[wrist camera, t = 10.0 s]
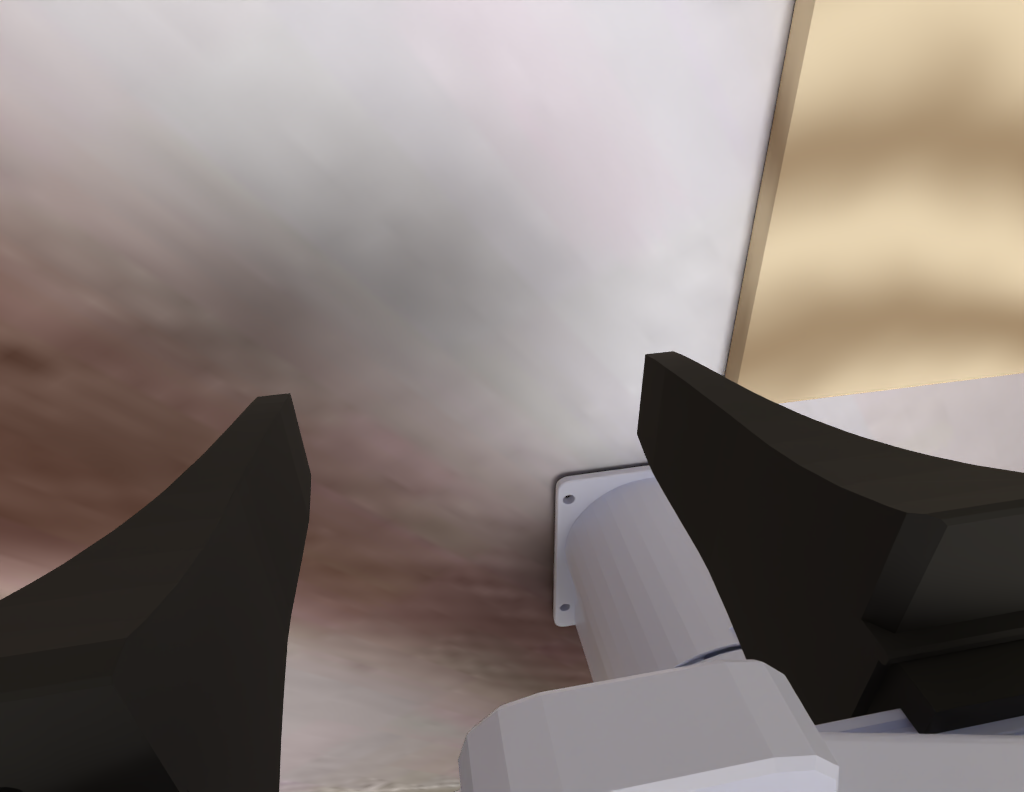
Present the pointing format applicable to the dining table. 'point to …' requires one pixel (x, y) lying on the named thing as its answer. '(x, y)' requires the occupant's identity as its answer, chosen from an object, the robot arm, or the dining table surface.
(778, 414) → the robot arm
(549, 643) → the dining table surface
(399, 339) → the dining table surface
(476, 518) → the dining table surface
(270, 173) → the dining table surface
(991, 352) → the board
